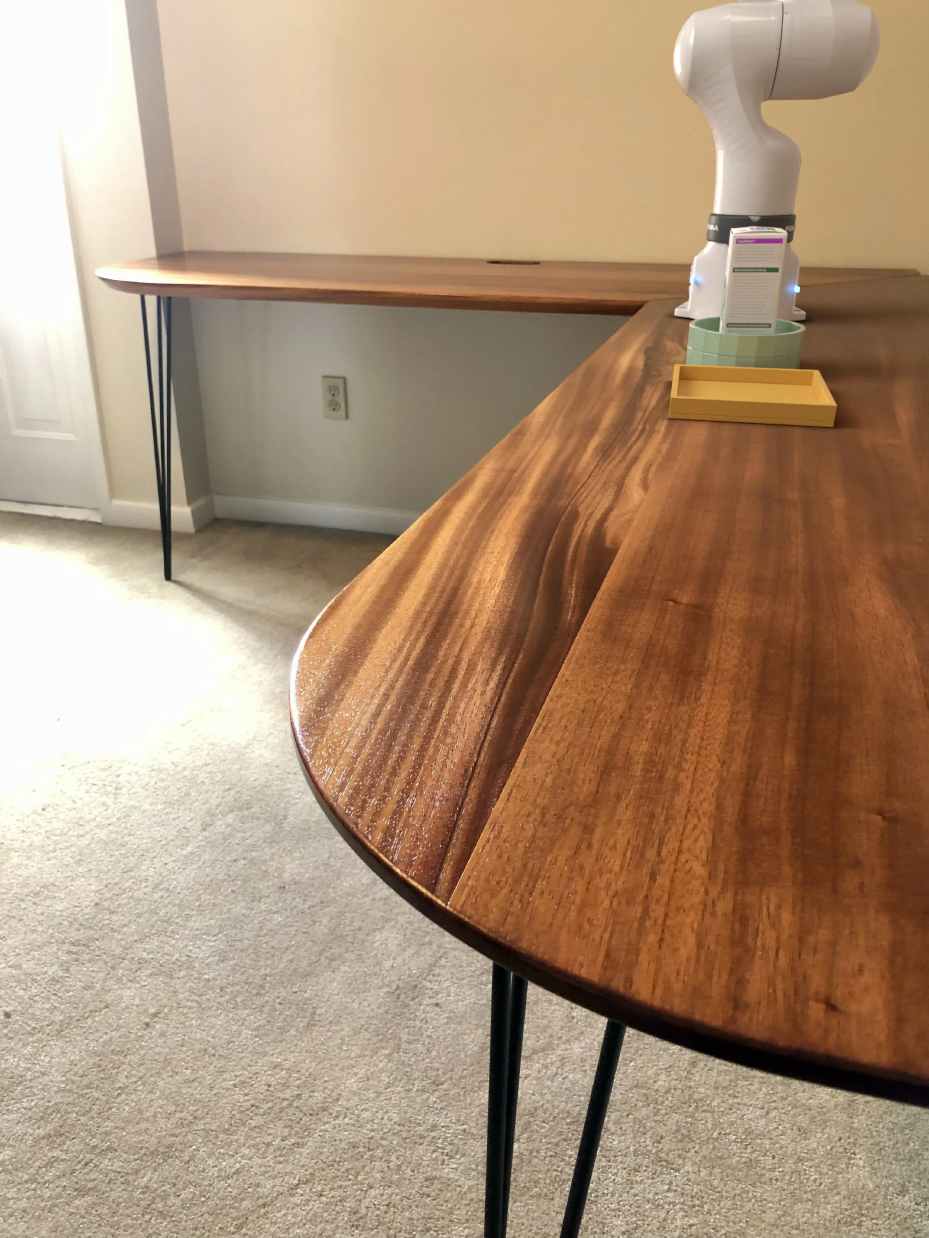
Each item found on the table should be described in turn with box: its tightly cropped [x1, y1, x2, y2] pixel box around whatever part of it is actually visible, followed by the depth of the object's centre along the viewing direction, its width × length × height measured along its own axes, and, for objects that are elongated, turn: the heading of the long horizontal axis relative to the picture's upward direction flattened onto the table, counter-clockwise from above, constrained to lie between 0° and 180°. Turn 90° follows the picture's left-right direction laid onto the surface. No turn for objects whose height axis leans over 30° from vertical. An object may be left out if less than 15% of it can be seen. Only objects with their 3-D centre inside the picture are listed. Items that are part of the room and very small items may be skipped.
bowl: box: [684, 316, 807, 369], centre depth 100 cm, size 12×12×5 cm
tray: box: [667, 363, 838, 428], centre depth 88 cm, size 15×15×2 cm
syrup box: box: [719, 227, 788, 335], centre depth 97 cm, size 6×6×14 cm
